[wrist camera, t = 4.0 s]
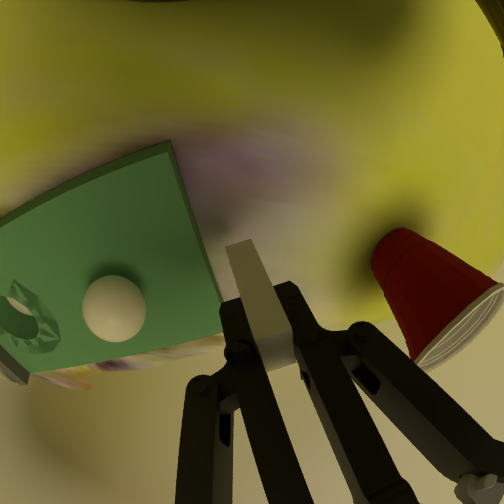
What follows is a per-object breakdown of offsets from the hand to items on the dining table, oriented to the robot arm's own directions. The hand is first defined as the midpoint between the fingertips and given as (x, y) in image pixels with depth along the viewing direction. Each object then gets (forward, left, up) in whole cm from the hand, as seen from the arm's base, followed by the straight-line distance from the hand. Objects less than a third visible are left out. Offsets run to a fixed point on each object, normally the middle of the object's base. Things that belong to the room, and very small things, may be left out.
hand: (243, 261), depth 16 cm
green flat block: (0, -13, -4) cm, 14 cm away
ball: (0, -8, +1) cm, 8 cm away
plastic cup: (+8, +15, -4) cm, 17 cm away
